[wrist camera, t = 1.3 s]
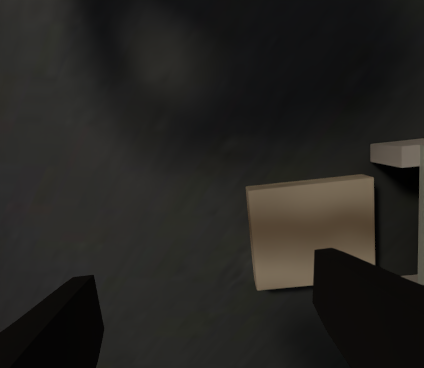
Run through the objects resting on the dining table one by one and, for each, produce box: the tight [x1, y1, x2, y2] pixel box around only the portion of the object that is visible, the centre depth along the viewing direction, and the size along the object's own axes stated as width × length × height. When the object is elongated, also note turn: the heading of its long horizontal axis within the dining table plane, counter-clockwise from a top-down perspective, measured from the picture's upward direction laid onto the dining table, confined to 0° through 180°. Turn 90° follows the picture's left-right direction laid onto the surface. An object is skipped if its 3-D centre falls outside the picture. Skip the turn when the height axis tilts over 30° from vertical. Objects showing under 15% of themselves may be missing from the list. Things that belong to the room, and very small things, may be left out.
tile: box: [246, 174, 375, 290], centre depth 20 cm, size 7×8×2 cm
